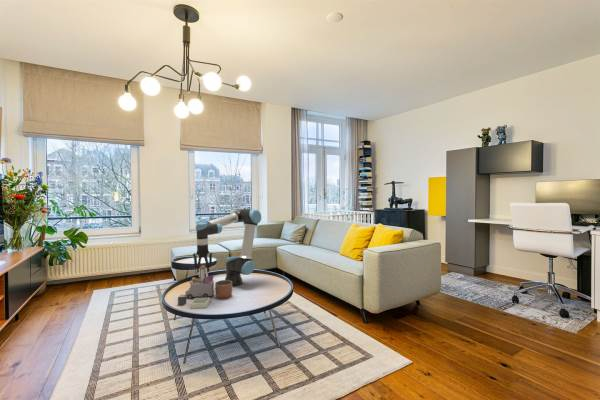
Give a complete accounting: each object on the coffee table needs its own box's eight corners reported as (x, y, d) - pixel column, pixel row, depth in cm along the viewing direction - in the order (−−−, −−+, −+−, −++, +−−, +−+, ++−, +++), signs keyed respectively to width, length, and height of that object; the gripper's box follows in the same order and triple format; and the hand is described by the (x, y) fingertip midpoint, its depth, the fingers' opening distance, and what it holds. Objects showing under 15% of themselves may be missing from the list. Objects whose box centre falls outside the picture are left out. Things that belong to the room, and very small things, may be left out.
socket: (208, 299, 209) (208, 296, 209) (207, 302, 204) (206, 299, 204) (200, 300, 209) (200, 296, 209) (198, 302, 204) (198, 299, 204)
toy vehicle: (188, 295, 219) (188, 275, 219) (214, 294, 221) (214, 275, 220) (184, 299, 210) (184, 279, 209) (212, 298, 211) (211, 278, 211)
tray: (210, 302, 204) (210, 297, 204) (206, 308, 194) (206, 303, 194) (195, 303, 203) (194, 297, 203) (190, 309, 193) (190, 303, 193)
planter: (223, 301, 206) (223, 286, 206) (211, 298, 213) (211, 283, 213) (236, 295, 217) (235, 281, 217) (224, 292, 223) (224, 279, 223)
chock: (186, 303, 204) (186, 294, 204) (184, 305, 199) (183, 297, 199) (180, 303, 203) (180, 294, 203) (178, 306, 198) (177, 297, 198)
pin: (206, 281, 208) (205, 265, 208) (204, 283, 204) (204, 266, 204) (200, 281, 208) (200, 265, 207) (199, 283, 204) (199, 266, 204)
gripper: (215, 242, 210) (216, 274, 211) (191, 243, 209) (192, 275, 209) (213, 244, 202) (214, 277, 203) (188, 245, 201) (189, 278, 202)
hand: (203, 276), depth 206 cm, fingers open, 4 cm apart
